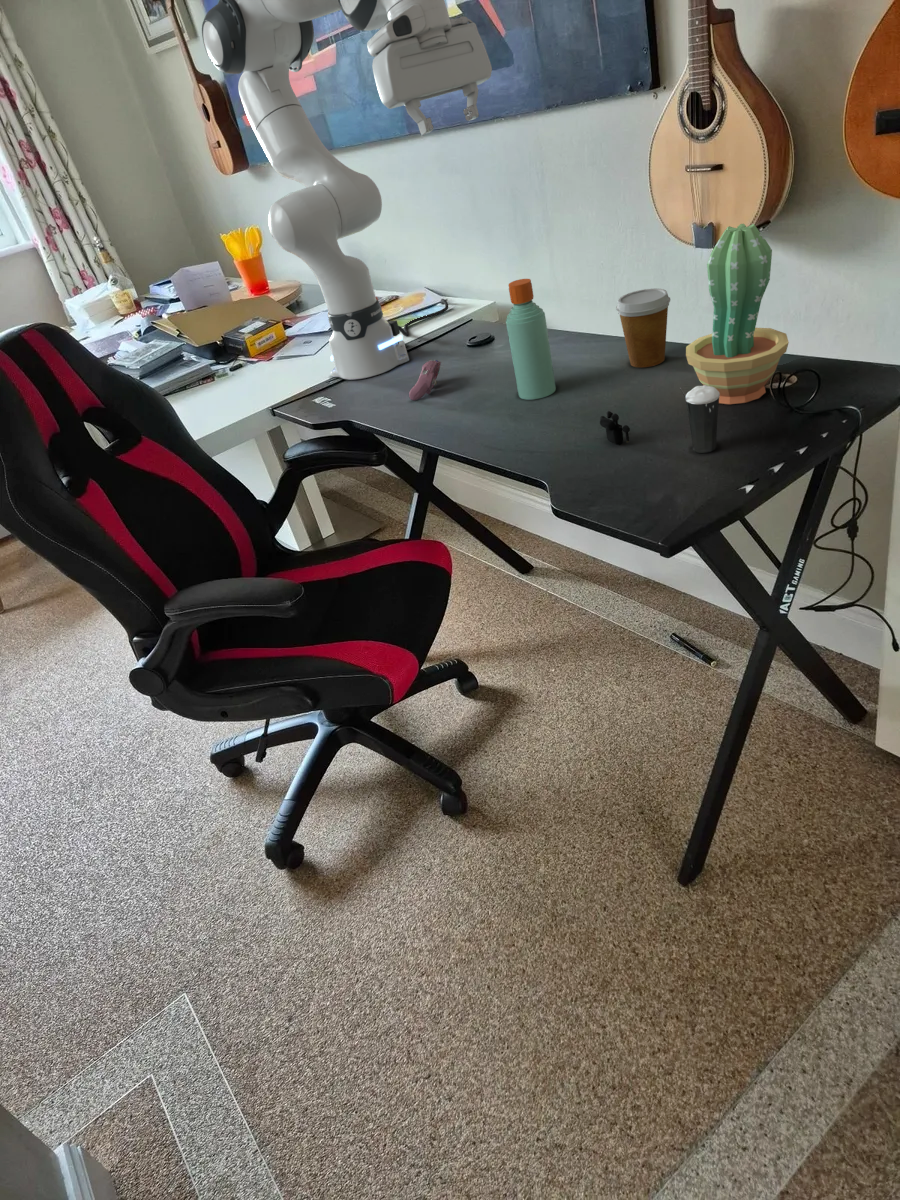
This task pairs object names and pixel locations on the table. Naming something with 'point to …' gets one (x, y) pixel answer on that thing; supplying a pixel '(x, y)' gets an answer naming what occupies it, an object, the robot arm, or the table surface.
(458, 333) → the table surface
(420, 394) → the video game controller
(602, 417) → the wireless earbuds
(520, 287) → the cap
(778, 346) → the potted cactus
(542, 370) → the bottle
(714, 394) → the glass of dark beer
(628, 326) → the disposable coffee cup
